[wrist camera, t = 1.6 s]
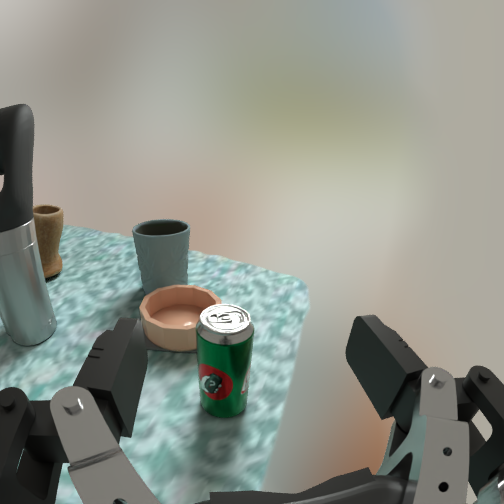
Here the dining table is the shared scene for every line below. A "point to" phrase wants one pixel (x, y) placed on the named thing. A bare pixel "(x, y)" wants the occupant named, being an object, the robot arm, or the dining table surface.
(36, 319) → the robot arm
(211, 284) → the dining table surface
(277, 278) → the dining table surface
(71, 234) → the dining table surface
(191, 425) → the dining table surface
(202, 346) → the soda can
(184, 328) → the bowl
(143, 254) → the grey-green tumbler
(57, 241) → the tan boot
